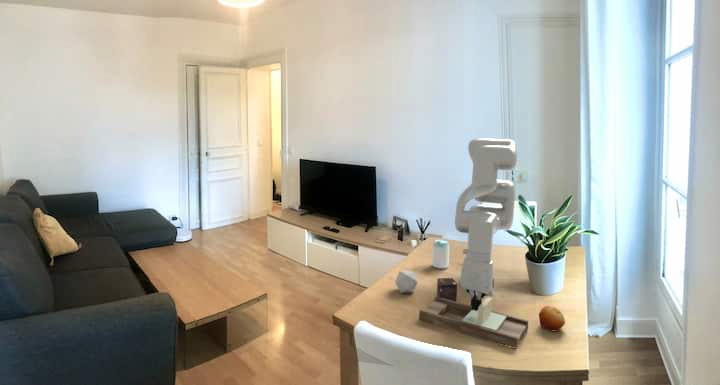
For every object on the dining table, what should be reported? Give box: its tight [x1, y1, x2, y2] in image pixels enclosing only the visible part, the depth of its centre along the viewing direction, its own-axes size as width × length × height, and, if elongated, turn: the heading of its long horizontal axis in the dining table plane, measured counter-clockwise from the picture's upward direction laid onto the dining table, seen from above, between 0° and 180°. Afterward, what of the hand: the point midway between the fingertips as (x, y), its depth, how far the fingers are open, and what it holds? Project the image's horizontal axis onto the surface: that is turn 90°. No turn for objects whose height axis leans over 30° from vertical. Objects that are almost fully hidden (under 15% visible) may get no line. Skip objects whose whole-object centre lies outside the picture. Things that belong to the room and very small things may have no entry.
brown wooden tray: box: [418, 296, 529, 349], centre depth 147 cm, size 14×32×3 cm, turn 56°
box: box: [436, 277, 458, 302], centre depth 166 cm, size 6×6×7 cm
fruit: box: [538, 305, 566, 331], centre depth 145 cm, size 8×8×8 cm
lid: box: [462, 296, 507, 331], centre depth 144 cm, size 11×11×6 cm
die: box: [394, 270, 419, 294], centre depth 173 cm, size 8×9×10 cm
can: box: [432, 238, 450, 270], centre depth 199 cm, size 7×7×12 cm
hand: (475, 309), depth 145 cm, fingers closed
